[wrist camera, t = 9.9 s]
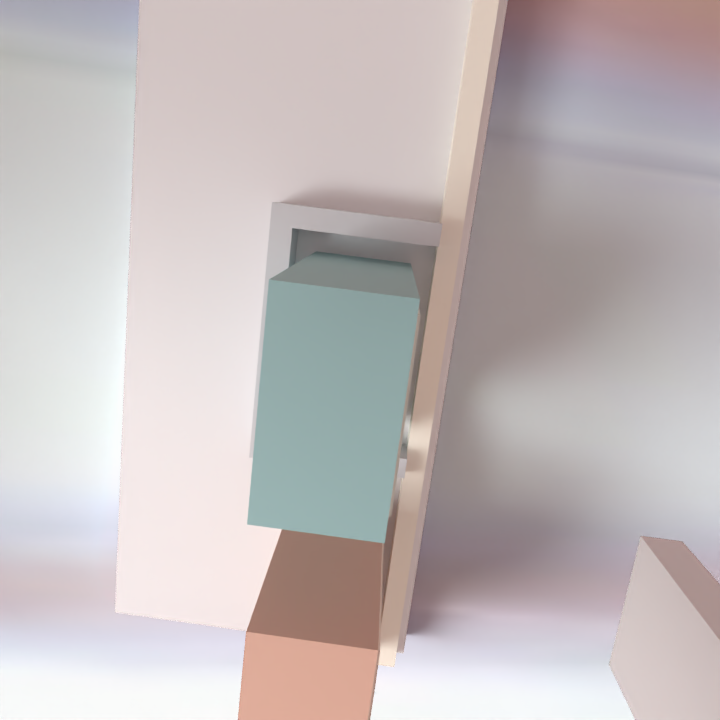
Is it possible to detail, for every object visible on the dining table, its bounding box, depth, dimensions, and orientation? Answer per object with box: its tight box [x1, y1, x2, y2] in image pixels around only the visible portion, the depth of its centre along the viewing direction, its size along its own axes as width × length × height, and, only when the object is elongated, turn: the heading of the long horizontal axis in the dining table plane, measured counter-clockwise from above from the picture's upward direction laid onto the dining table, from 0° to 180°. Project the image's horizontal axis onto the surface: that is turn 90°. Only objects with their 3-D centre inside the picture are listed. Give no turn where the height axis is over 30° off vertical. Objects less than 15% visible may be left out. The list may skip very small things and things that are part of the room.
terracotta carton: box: [238, 529, 384, 720], centre depth 29 cm, size 5×8×12 cm, turn 173°
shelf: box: [115, 0, 508, 667], centre depth 32 cm, size 16×36×4 cm, turn 173°
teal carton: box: [247, 251, 421, 543], centre depth 26 cm, size 5×8×12 cm, turn 173°
